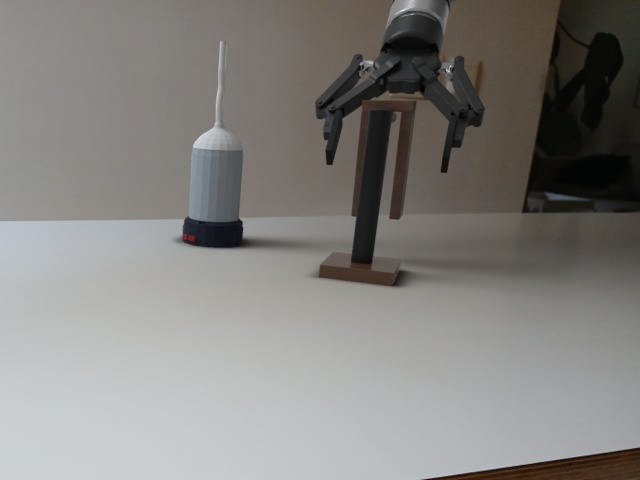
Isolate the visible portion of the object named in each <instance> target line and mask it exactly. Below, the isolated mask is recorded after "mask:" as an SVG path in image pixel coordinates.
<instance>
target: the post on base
mask: <svg viewBox="0 0 640 480" xmlns="http://www.w3.org/2000/svg"><path fill="white" fill-rule="evenodd" d="M397 119H398V114H397V112H393V110H383V109H370V111H369V119H368V127H367V135H366V143H365V151H364V159H363V167H362V175H361V183H360V191H359V199H358V207H357V215H356V217H355V226H354V232H353V241H352V247H351V248H352V249H351V253H349V252H338V251H332V252H331V253H330V254H329V255H328V256H327V257H326V258H325V259H324V260H323V261H322V262H321V263H320V264H319V270H318V278H320V279H321V278H322V279H331V280H332V279H333V280H337V281H338V280H339V281H347V282H356V283H363V284H370V285H371V284H372V285H379V286H387V287H393V286H394V283H395V281H396V279H397V276H398V275H399V273H400V270H401V263H402V259H401V258H395V257H385V256H375V255H374V254H375V247H376V239H377V232H378V226H379V225H378V224H379V216H380V210H381V209H380V208H381V201H382V194H383V187H384V179H385V172H386V166H387V157H388V150H389V142H390V136H391V127H392V124H393V123H395V122H396V121H397Z"/></svg>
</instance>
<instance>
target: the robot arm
mask: <svg viewBox="0 0 640 480" xmlns="http://www.w3.org/2000/svg"><path fill="white" fill-rule="evenodd" d="M455 1H456V0H392V3H391V7H390V10H389V14H388V18H387V22H386V25H385V30H384V31H385V32H384V36H383V38H382V42H381V47H380V51H379V54H378V56H377V57H376V58H375V59H374V60H370V59H364V56H363V54H362V53H356V54H354V55H353V57H352V59H351V61H350V64H349V65H348V67H346V69H345V70H344V71H343V72H342V73H341V74H340V75H339V76H338V77H337V78H336V79H335V80H334V81H333V83H332V84H331V85H329V86H328V87H327V89H326V90H324V92H323V93H321V94H320V96H318V98H317V99H316V100H315V101H314V107H315V118H316V119H317V120H324V119H325V120H324V123H323V127H322V137H323V141H327V143H326V146H325V150H324V151H325V152H324V153H325V164H326V166H333V164H334V161H335V158H336V153H337V149H338V145H339V142H340V139H341V134H342V130H343V127H344V126H343V125H344V122H343V119H344V118H346V117H347V116H349V115H350V114H352V113H353V112H355V111H356V110H358V109H359V108H360V107H362V102H363V100H373V98H375V99H378V98H379V97H381V96H383V95H384V94H385V93H387V92H388V93H389V94H391V95H393V94H394V95H395V94H396V95H397V94H406V95H415V94H416V93H419V94H420V95H421V96H422V97H423V98H424V99H425V100H426V101H427V100H429V102H430V103H431V104H432V105H433V106H434V107H435V108H436V109H437V110H438V111H439V112H440V113H441V114H442V115H443V116H444V118H445V119H446V120H447V121H448V126H447V131H446V137H445V141H444V145H443V151H442V155H441V157H442V158H441V165H440V173H441V174H448V170H449V165H450V160H451V154H452V149H453V148H454V149H461V148H462V146H463V143H464V138H465V134H466V130H467V128H468V127H470V126H472V127H474V128H480V127H481V126H482V125H483V121H484V115H485V110H486V107H485V104H483V102H482V99H481V98H480V96H479V93H478V92H477V90H476V88H475V86H474V84H473V83H472V80H471V79H470V76H469V75H468V73H467V71H466V69H465V56H462V55H457V56H455V57H454V59H453V61H442V60H441V53H442V49H443V44H444V38H445V33H446V29H447V24H448V19H449V13H450V10H451V5H452V3H454V2H455ZM368 73H370V74H369V76H368V78H366V79H365V80H364V78H365V76H366V75H367V74H368ZM440 75H444V76H445V78H446V79H447V82H449V83H451V85H452V88H453V91H454V92H455V95H456V96H457V97H455V96H454V95H453V93H451V91H449V89H447V87H446V86H445V85H444V84H443V83H442V82H441V81H440V80H439V78H438V77H440ZM360 80H363V81H362V82H360V83H359V81H360ZM358 83H359V84H358Z"/></svg>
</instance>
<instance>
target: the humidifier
mask: <svg viewBox="0 0 640 480" xmlns="http://www.w3.org/2000/svg"><path fill="white" fill-rule="evenodd" d="M227 54H228V44H227V41H226V40H225V41H223V40H220V41H219V53H218V55H219V56H218V71H217V73H218V74H217V82H218V83H217V84H218V85H217V93H216V98H215V122H214V124H213V125H214V126H213V127H212V128H210V129H209V130H207V131H205V132H204V133H202V134H201V135H200V136H199V137H198V138H197V139H196V140H195V141H194V143H193V145H192V149H191V156H190V157H191V160H190V162H191V163H190V179H189V180H190V181H189V200H188V215H187V216H186V217H185V218H184V219H183V225H182V242H183V244H187V245H190V246H195V247H202V248H213V249H215V248H216V249H219V248H221V249H223V248H225V249H226V248H234V247H239V246H242V244H243V240H244V239H243V238H244V226H243V225H244V221H243V220H242V219H241V218H240V208H241V195H242V193H241V192H242V179H243V165H244V152H243V151H244V147H243V145H242V143H241V141H240V139H239V138H238V137H237V136H236V135H235V134H234V133H232V132H231V131H229V130H228V129H227V128H226V126H225V123H224V107H225V96H226V95H225V94H226V70H227V60H226V58H227V56H228V55H227Z"/></svg>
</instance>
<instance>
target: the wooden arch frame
mask: <svg viewBox="0 0 640 480" xmlns="http://www.w3.org/2000/svg"><path fill="white" fill-rule="evenodd" d="M417 102H418V101H417V100H396V99H395V100H393V99H392V100H391V99H389V100H388V99H371V100H363V102H362V106H361V113H360V123H359V124H360V125H359V132H358V133H359V134H358V143H357V144H358V145H357V151H356V153H357V154H356V165H355V171H354V184H353V193H352V205H351V213H350V216H351V217H353V218H356V215H357V207H358V199H359V191H360V183H361V175H362V167H363V159H364V151H365V143H366V135H367V127H368V119H369V111H370V109H383V110H393V112H395V113H400V122H399V130H398V137H397V147H396V156H395V164H394V173H393V180H392V190H391V198H390V206H389V216H388V219H389V220H397V221H399V220H401V218H402V217H403V215H404V208H405V207H404V206H405V199H406V192H407V183H408V175H409V168H410V159H411V151H412V145H413V144H412V143H413V134H414V127H415V118H416V110H417Z"/></svg>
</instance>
